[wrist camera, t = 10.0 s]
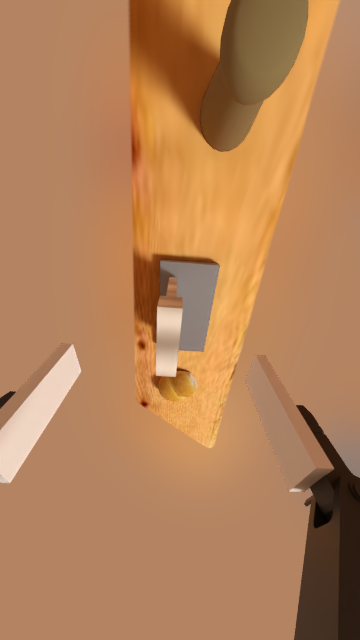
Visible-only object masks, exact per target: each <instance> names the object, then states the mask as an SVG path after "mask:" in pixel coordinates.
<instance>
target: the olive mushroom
mask: <svg viewBox="0 0 360 640" xmlns="http://www.w3.org/2000/svg"><path fill="white" fill-rule="evenodd" d="M307 19H308V0H231V3H230V5H229V7H228V10H227V14H226V18H225V22H224V27H223V31H222V36H221V45H220V62H219V64H218V66H217V68H216V71H215V73H214V75H213V77H212V80H211V82H210V84H209V86H208V89H207V91H206V93H205V95H204V98H203V101H202V106H201V110H200V124H201V129H202V133H203V136H204V137H205V139H206V141H207V143H208V144H209V145H210V146H211V147H212V148H213V149H215V150H218V151H221V152H223V151H230V150H232V149H234V148H236V147H237V146H238V145H239V144H240V143H242V142H243V141H244V139H245V137H246V136H247V134H248V132H249V131H250V129H251V126H252V124H253V122H254V120H255V118H256V116H257V114H258V112H259V109H260V107H261V105H262V103H263V101H264V100H265V99H267V98H268V97H270V96H271V95H272V94H273V93H274V92H275V91H276V90H277V89H278V88H279V87H280V85H281V84H282V83H283V81H284V80H285V78H286V77H287V75H288V73H289V72H290V70H291V69H292V67H293V65H294V63H295V60H296V58H297V55H298V53H299V50H300V47H301V45H302V42H303V39H304V35H305V30H306V25H307Z"/></svg>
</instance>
